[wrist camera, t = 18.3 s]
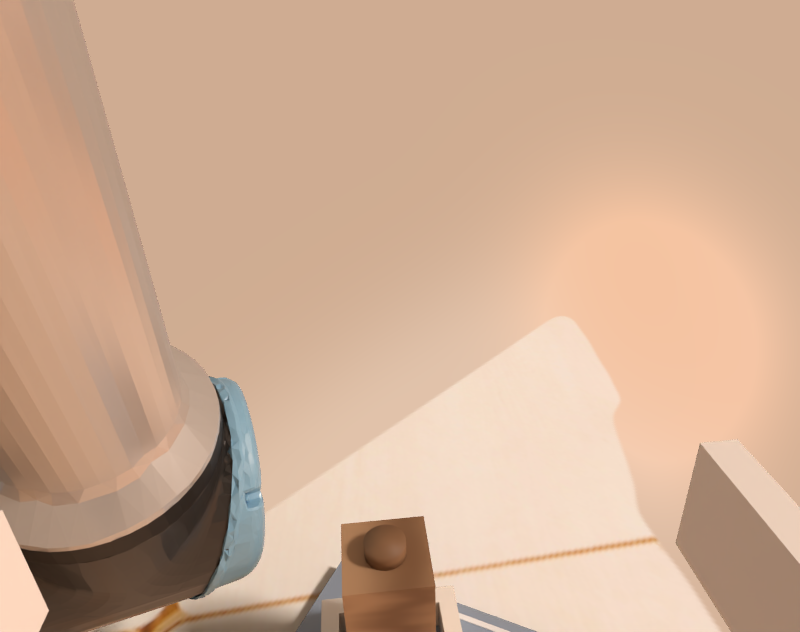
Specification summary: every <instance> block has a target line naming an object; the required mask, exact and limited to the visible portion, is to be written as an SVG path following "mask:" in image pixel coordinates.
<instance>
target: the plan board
mask: <svg viewBox="0 0 800 632" xmlns="http://www.w3.org/2000/svg"><path fill="white" fill-rule="evenodd" d="M335 598H342V561H341V562H340V564H339V566H338V567H337V569H336V570H335V572H334V573H333V575H332V576H331V578H330V580H329V581H328V583H327V584H326V586H325V587H324V589H323V590H322V592H321V594H320V595H319V597H318V598H317V600H316V601H315V603H314V604H313V606H312V607H311V609H310V611H309V612H308V614H307V615H306V617H305V618H304V620H303V621H302V623H301V625H300V626H299V628H298V629H297V631H296V632H321V608H322V600H326V599H335ZM457 607H458V612H459V617H460V622H461V627H462V632H537V631H534V630H531V629H528V628H525V627H523V626H520V625H517V624H514V623H512V622H509V621H506V620H503V619H501V618H498V617H495V616H492V615H490V614H487V613H484V612H481V611H479V610H476V609H473V608H470V607H468V606H465V605H462V604H459V603H457ZM436 632H440V626H439V625H437V626H436Z"/></svg>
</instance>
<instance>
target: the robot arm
mask: <svg viewBox="0 0 800 632" xmlns="http://www.w3.org/2000/svg"><path fill="white" fill-rule="evenodd" d="M260 488H261V471H260V463H259V457H258V451H257V445H256V440H255V435H254V430H253V426H252V422H251V418H250V414H249V411H248V407H247V403H246V400H245V398H244V396H243V393H242V391H241V389H240V387H239V386H238V385H237V383H236V382H234V381H232V380H230V379H227V378H214V377H210V376H208V375H207V373H206V372H205V370H204V369H203V368H202V367H201V366H200V365H199V364H198V363H197V362H196V361H195V360H194V359H193V358H191V357H190V356H189V355H187V354H186V353H184V352H183V351H181V350H179V349H177V348H175V347H173V346H171V345H170V342H169V339H168V335H167V332H166V328H165V325H164V321H163V318H162V314H161V310H160V307H159V303H158V300H157V296H156V292H155V289H154V285H153V282H152V278H151V275H150V271H149V268H148V264H147V260H146V257H145V254H144V250H143V246H142V243H141V239H140V236H139V232H138V228H137V225H136V221H135V218H134V214H133V210H132V207H131V203H130V200H129V197H128V193H127V189H126V185H125V182H124V178H123V175H122V171H121V168H120V164H119V161H118V157H117V153H116V150H115V146H114V143H113V139H112V136H111V132H110V129H109V125H108V121H107V118H106V114H105V111H104V107H103V103H102V100H101V96H100V93H99V89H98V86H97V82H96V79H95V75H94V71H93V68H92V64H91V61H90V57H89V54H88V50H87V46H86V43H85V39H84V36H83V32H82V29H81V25H80V21H79V18H78V15H77V11H76V7H75V4H74V0H0V632H88V631H91V630H94V629H97V628H100V627H103V626H106V625H109V624H112V623H115V622H118V621H121V620H124V619H127V618H131V617H134V616H137V615H140V614H143V613H146V612H149V611H152V610H155V609H158V608H161V607H164V606H167V605H170V604H173V603H176V602H179V601H182V600H185V599H188V598H189V599H198V598H203V597H205V595H209V594H210V593H211V592H213V591H214V589H216V588H218V587H221V586H223V585H226V584H229V583H231V582H234V581H237V580H239V579H241V578H244V577H245V576H247V575H248V574H249V573H250V572H252V570H253V569H254V568H255V567H256V565H257V564H258V562H259V560H260V558H261V554H262V551H263V546H264V536H265V514H264V502H263V498H262V494H261V492H260ZM676 545H677V546H678V548H679V549H680V551H681V553H682V554H683V556H684V557H685V559H686V561H687V562H688V564H689V565H690V567H691V568H692V570H693V572H694V573H695V575H696V576H697V578H698V580H699V581H700V583H701V584H702V586H703V587H704V589H705V591H706V592H707V594H708V596H709V597H710V599H711V600H712V602H713V603H714V605H715V607H716V608H717V610H718V612H719V613H720V615H721V616H722V618H723V619H724V621H725V623H726V624H727V626H728V627H729V629H730V631H731V632H800V507H799V506H798V505H797V504H796V503H795V502H794V501H793V500H792V498H791V497H790V496H789V495H788V494H787V493H786V492H785V491H784V490H783V489H782V488H781V486H780V485H779V484H778V483H777V482H776V481H775V480H774V479H773V478H772V477H771V475H770V474H768V472H767V471H766V470H765V469H764V468H763V467H762V466H761V465H760V463H759V462H758V461H757V460H756V459H755V458H754V457H753V456H752V455H751V454H750V453H749V451H748V450H747V449H746V448H745V447H744V446H743V445H742V444H741V443H740V442H739V440H738V439H737V440H726V441H717V442H705V443H700V446H699V450H698V454H697V458H696V462H695V466H694V470H693V474H692V478H691V482H690V486H689V490H688V494H687V498H686V503H685V507H684V511H683V515H682V519H681V523H680V527H679V531H678V535H677V539H676Z"/></svg>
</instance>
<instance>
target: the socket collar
mask: <svg viewBox="0 0 800 632" xmlns="http://www.w3.org/2000/svg"><path fill="white" fill-rule="evenodd" d="M435 600H436V626H437V625H439V626H440V632H462V627H461V622H460V617H459V612H458V607H457V602H456V597H455V593H454V588H453V586H445V587H436V588H435ZM321 632H346V625H345V616H344V608H343V600H342V598H335V599H326V600H322V608H321Z"/></svg>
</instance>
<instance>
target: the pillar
mask: <svg viewBox="0 0 800 632" xmlns="http://www.w3.org/2000/svg"><path fill="white" fill-rule="evenodd" d="M341 548H342V600H343V608H344V616H345V625H346V632H436V600H435V581H434V576H433V570H432V564H431V558H430V552H429V546H428V540H427V534H426V528H425V522H424V517H423V516H421V517H410V518H400V519H390V520H380V521H370V522H359V523H349V524H341Z"/></svg>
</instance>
